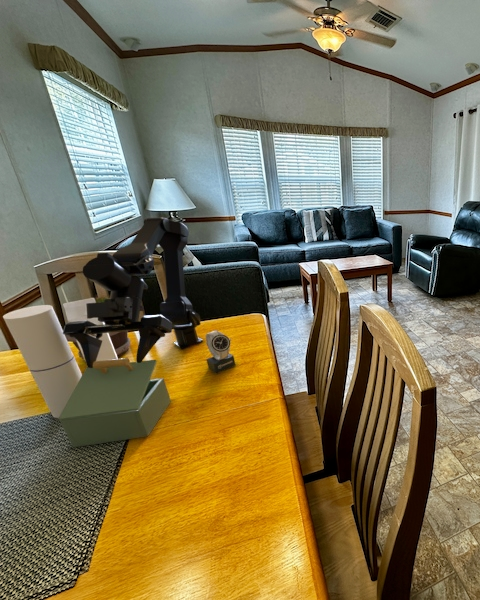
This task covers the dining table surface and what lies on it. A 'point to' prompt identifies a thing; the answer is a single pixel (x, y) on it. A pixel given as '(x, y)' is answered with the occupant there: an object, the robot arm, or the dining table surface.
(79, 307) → the milk
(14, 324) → the cylindrical container
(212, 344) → the watch
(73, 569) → the dining table surface
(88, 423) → the green hinged box
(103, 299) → the flowerpot
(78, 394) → the lid
